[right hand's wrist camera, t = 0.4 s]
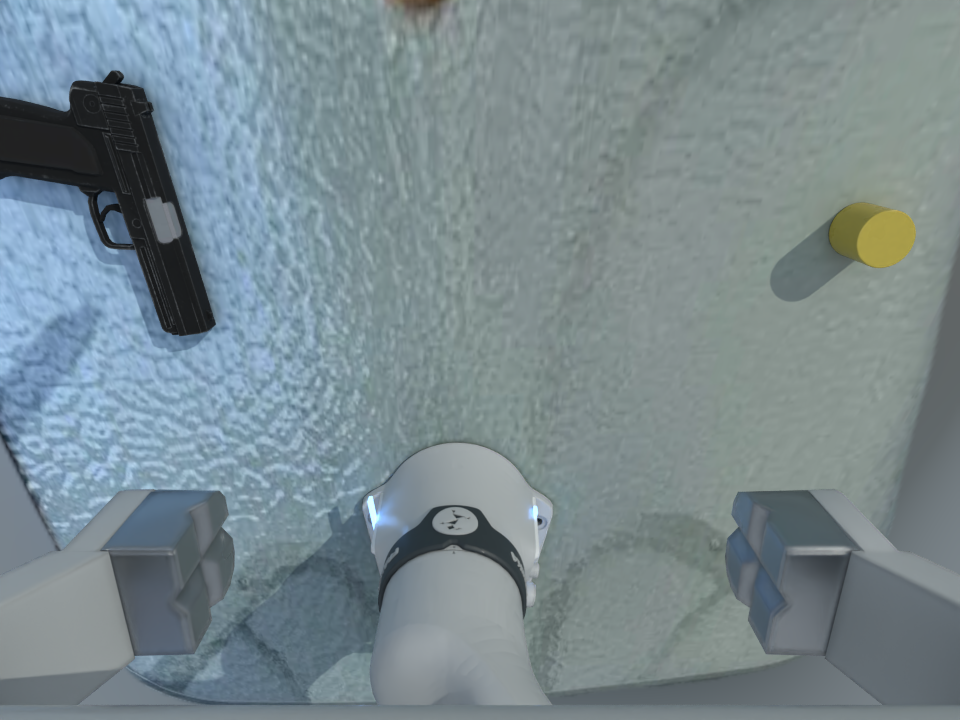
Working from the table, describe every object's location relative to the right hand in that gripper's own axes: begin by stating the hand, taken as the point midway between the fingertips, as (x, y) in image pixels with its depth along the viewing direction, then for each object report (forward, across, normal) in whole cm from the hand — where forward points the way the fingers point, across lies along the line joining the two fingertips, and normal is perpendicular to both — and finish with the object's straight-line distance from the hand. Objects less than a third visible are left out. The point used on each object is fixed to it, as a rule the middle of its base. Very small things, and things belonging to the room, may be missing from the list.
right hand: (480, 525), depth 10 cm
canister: (+46, +32, -3) cm, 56 cm away
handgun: (+46, -31, -2) cm, 56 cm away
